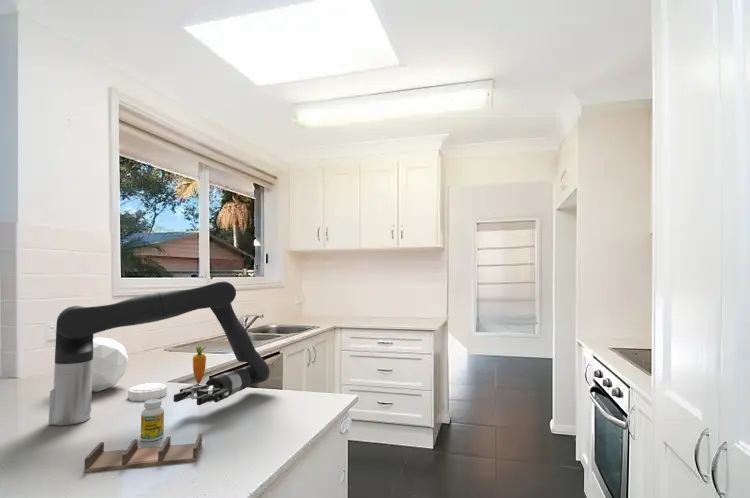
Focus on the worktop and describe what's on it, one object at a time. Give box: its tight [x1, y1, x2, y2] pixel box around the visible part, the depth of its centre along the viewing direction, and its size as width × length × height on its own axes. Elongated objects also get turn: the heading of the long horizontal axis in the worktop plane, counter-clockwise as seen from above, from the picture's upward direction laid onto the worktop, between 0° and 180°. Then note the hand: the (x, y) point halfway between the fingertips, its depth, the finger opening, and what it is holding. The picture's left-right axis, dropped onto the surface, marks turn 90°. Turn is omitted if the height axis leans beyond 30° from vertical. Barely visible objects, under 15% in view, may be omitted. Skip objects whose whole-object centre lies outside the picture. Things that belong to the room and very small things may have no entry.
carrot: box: [192, 345, 207, 385], centre depth 166 cm, size 5×5×15 cm
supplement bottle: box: [140, 398, 165, 443], centre depth 111 cm, size 5×5×10 cm
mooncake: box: [127, 382, 168, 402], centre depth 149 cm, size 12×12×4 cm
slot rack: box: [83, 433, 203, 474], centre depth 99 cm, size 23×9×3 cm, turn 105°
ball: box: [92, 337, 130, 392], centre depth 157 cm, size 19×20×20 cm
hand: (186, 400), depth 122 cm, fingers open, 8 cm apart
